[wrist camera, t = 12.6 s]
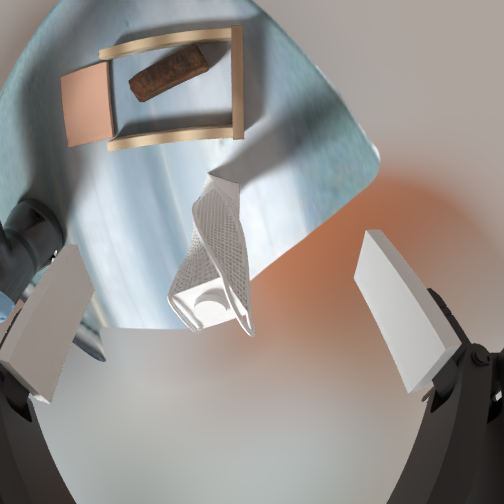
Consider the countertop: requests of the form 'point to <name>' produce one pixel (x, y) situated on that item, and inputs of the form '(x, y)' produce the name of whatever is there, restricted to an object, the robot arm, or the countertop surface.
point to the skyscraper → (214, 262)
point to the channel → (188, 133)
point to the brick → (168, 73)
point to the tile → (87, 105)
